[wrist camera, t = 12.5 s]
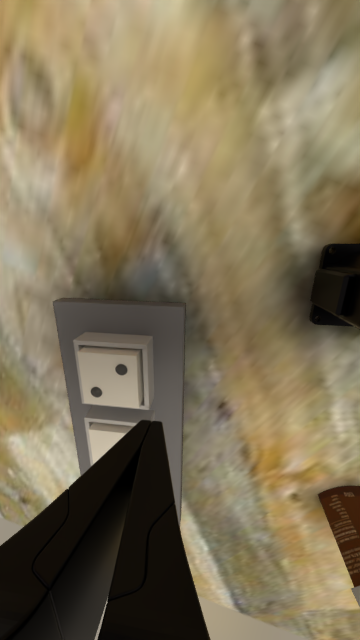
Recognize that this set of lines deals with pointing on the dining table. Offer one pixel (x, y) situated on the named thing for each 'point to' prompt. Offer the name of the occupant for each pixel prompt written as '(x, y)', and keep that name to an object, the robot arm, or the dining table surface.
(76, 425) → the button panel
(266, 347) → the dining table surface
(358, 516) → the food container
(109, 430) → the tile three dots
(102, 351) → the tile two dots
